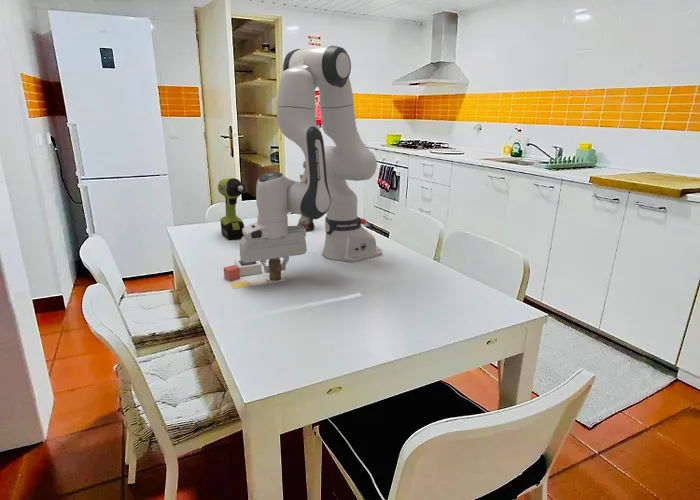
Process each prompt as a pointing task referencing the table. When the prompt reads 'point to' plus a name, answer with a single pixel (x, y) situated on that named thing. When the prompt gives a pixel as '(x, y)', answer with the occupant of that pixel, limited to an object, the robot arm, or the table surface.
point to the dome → (246, 263)
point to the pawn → (275, 269)
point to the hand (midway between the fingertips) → (275, 271)
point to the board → (253, 282)
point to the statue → (303, 220)
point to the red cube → (231, 273)
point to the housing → (248, 268)
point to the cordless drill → (231, 208)
